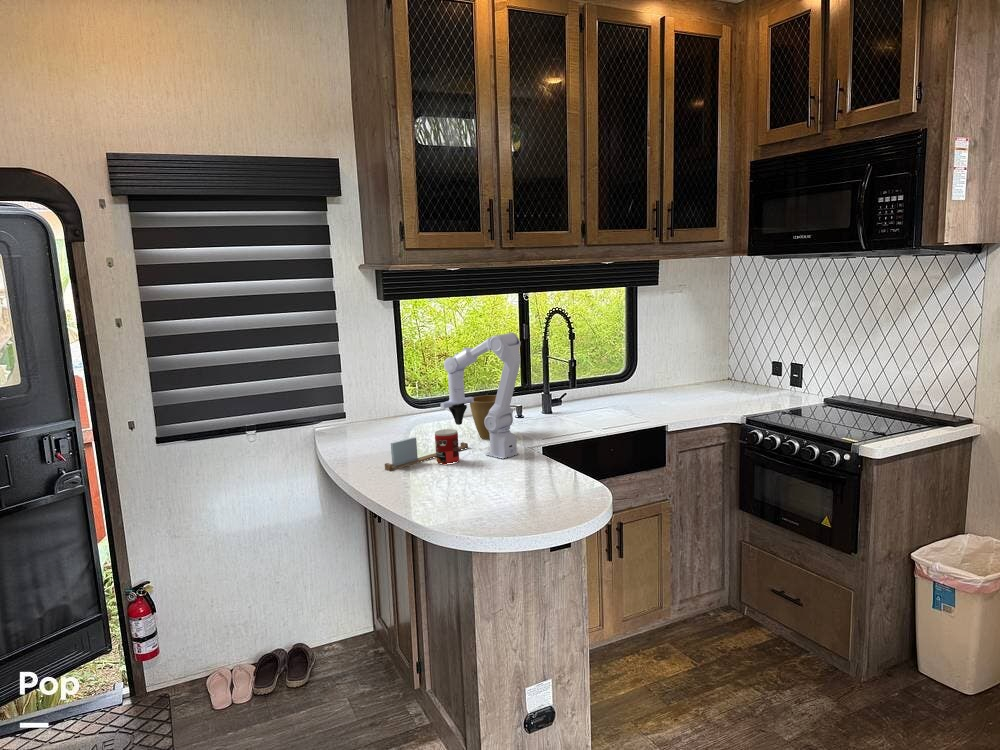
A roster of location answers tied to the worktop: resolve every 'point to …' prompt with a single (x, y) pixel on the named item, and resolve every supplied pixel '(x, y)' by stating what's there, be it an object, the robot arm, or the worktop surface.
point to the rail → (420, 459)
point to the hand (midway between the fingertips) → (458, 424)
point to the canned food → (447, 446)
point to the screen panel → (404, 451)
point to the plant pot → (482, 413)
